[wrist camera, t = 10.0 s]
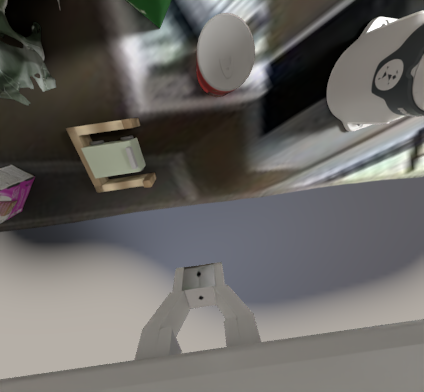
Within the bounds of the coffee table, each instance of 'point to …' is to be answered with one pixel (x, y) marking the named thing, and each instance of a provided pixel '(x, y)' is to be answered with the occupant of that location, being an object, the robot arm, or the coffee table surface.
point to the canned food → (224, 54)
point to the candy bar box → (13, 190)
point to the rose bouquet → (21, 61)
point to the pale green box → (114, 157)
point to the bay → (83, 139)
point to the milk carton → (152, 9)
